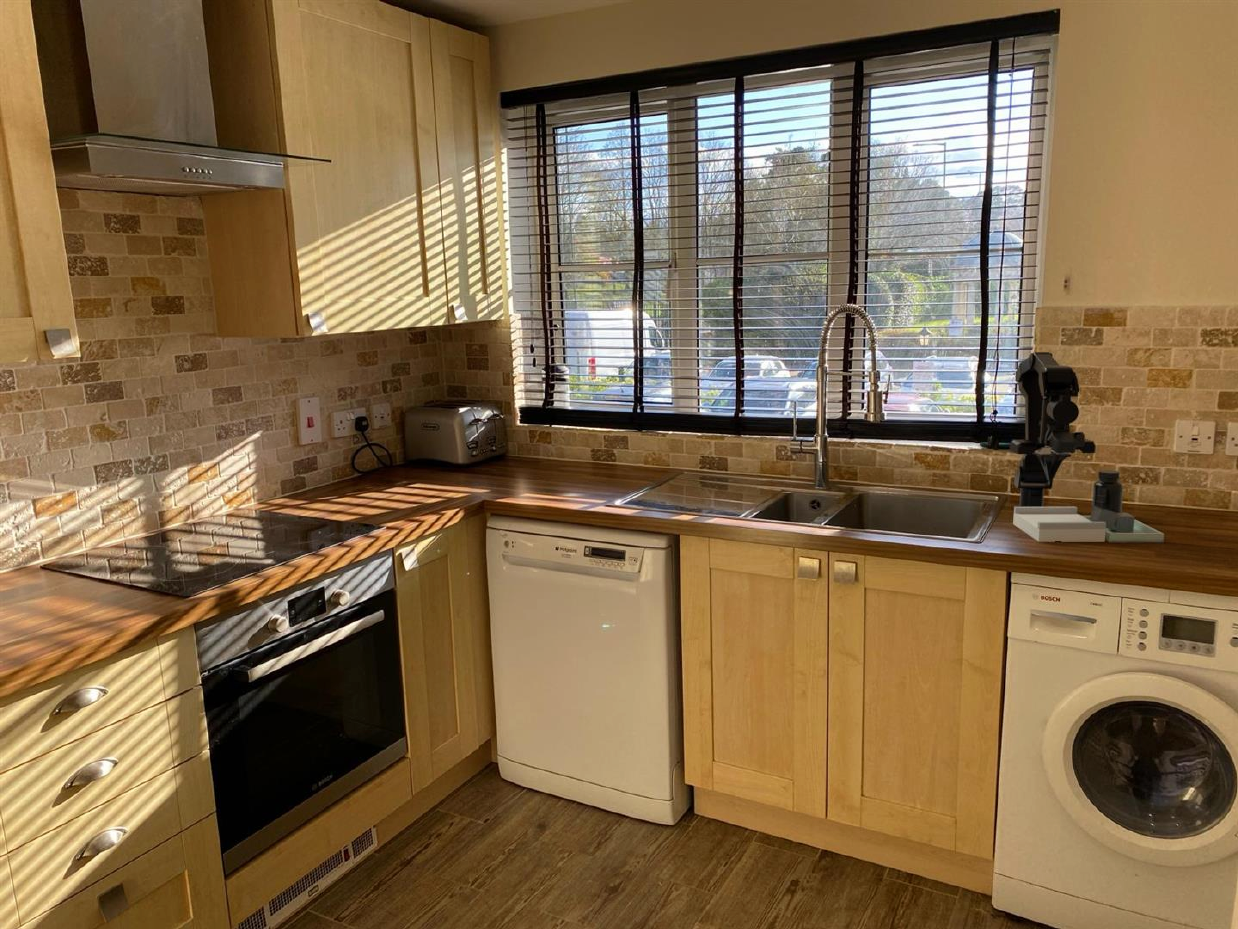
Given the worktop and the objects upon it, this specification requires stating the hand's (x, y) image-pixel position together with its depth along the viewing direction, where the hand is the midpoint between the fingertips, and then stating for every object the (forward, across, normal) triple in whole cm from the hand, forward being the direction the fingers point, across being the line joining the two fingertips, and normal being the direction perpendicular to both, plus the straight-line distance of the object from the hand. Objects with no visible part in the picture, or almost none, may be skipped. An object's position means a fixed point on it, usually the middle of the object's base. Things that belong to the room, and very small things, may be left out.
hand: (1050, 480), depth 226 cm
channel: (+12, 0, -6) cm, 13 cm away
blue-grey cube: (+10, +10, -7) cm, 15 cm away
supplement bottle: (+12, +19, +9) cm, 24 cm away
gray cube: (+9, +13, -7) cm, 17 cm away
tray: (+12, +14, -7) cm, 20 cm away
